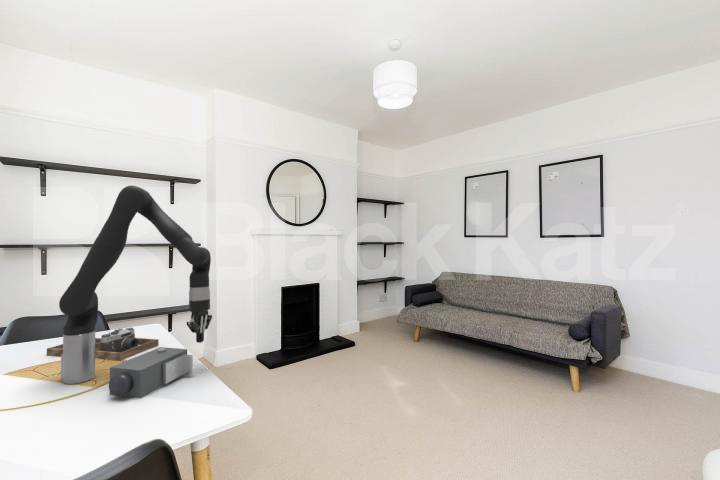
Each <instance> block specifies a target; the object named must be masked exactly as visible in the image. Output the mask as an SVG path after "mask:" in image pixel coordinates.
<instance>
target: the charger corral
mask: <svg viewBox="0 0 720 480" xmlns="http://www.w3.org/2000/svg"><path fill="white" fill-rule="evenodd" d="M99 348H101V337H95V350H96V349H99ZM62 354H63V343H61V344H58V345H55V346H51V347H48V348H46V356H49V357H50V356H51V357H58V358H61V355H62Z"/></svg>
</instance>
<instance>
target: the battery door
mask: <svg viewBox="0 0 720 480" xmlns="http://www.w3.org/2000/svg"><path fill="white" fill-rule="evenodd" d="M193 358H194V356H193V354H187V355H184V354H183V355H180V356H178V357H176V358H174V359H172V360H170V361H168V362H165V363H163V384H165V385H167V384H168V382H169V383H171V382H173V381H174V380H176V379H179V378H180V377H182V376H191V375H193V373H194V372H193V366H194V364H193V363H194V361H193ZM181 375H182V376H181ZM179 376H180V377H179ZM172 380H173V381H172ZM170 381H171V382H170Z"/></svg>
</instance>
